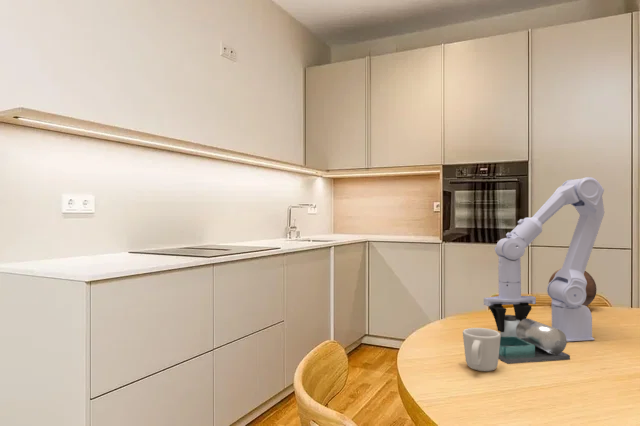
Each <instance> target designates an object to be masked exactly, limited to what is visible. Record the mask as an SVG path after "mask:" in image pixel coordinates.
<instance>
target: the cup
mask: <svg viewBox="0 0 640 426" xmlns="http://www.w3.org/2000/svg"><path fill="white" fill-rule="evenodd" d="M462 337H463V338H462V339H463V348H464V355H465V356H464V357H465V363H466V365H467V366H468V367H469V368H470V369H472V370H475V371H479V372H492V371H495V370H496V369H497V367H498V365H499V359H498V358H499V348H500V338H501V335H500V331H498V330H495V329H492V328H485V327H469V328H466V329H465V328H464V330H462Z"/></svg>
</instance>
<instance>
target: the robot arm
mask: <svg viewBox="0 0 640 426" xmlns="http://www.w3.org/2000/svg"><path fill="white" fill-rule="evenodd" d="M604 192H605V189H604V188H603V186H602V184H601V183H600V181H598V180H597V179H596V178H594V177H591V176H586V177H583V178H577V179H575V178H572V179H568V180H565V181H564V182H563V183H562V184H561V185H560V186H558V187H557V188H556V190H555V191H554V192H553V193H552V194H551V196H550V197H549V198H548V199H547V200H546V201H545V202H544V203H543V205H541V207H540V208H539V209H538V210H537V211H536V212H534V215H532V217H524V218H520V219H519V220H517V225H516V226H515V227H514V228H513V229H512V230H511V231H510V232H509V231H508V232H507V233H506V234H505V236H506V237H504V238H501V239H499V240H498V241H497V243H496V246H495V247H494V252H495V254H496V255H497V257H498V267H497V269H498V273H497V275H498V279H497V280H498V295H497V296H490V297H483V305H484V306H486V307H488V309H489V310H490V312H491V314H492V316H493V318H494V321H495V322H494V323H495V325H496V329H497V330H496V331H497V332H499V333H500V332H504V319H505V315H506V314H507V313H506V312H507V308H505V307H504V305H507V306H508V305H509V306H510V305H512V306H513V310H514V315H515V316H516V319H519V320H520V321H521V320H523V319H528V316H529V313H530V312H531V310H532V305H535V304H537V303H536V302H537V300H536V299H537V298H536V296H534V295H533V296H532V295H522V274H521V273H522V267H521V260H522V259H521V258H522V257H523V256H524V255H525V252H526V248H527V247H528V246H529V245H530V244H531V243H532V242H533V241H534V240H536V239H537V237H538V236H539V235H540V234H542V232H543V225H544V224H545V223H546V222H547V221H549V220H550V218H552V217H553V216H554V215H555V214H556V213H557V212H559V211H560V210H561V209H562V208H563V207H565V206H568V205H571V206H573V207H574V208H575V210H576V212H577V213H578V214H579V217H578V220H577V222H576V226H575V229H574V232H573V235H572V238H571V240H570V244H569V245H568V246H569V247H568V249H567V252H566V255H565V257H564V261H563V263H562V267H561V268H559V269H560V270H559V269H558V270H559V271H558V272H557V273H556V274H555V277H554V279H553V280H552V281H551V282H550V283H549V282H548V284H547V288H546V291H547V292H546V293H547V295H548V297H550V299H551V302H550V303H551V327H553V328H556V329H558V330H561V331H562V332H563V333H564V334H565V336H566V339H567V343H568V342H581V341H582V342H583V341H585V342H586V341H594V340H595V338H594V336H593V315H592V312H591V309H590V308H589V307H588V306H585V305H582V304H583V303H584V302H585V300H586V285H587V281H586V279H585V277H584V272H585V271H586V268H587V265H588V263H589V260H590V258H591V254H592V252H593V248H594V245H595V242H596V240H597V236H598V234H599V230H600V227H601V224H602V221H603V219H604V217H605V207H604V206H605V205H604V200H603V194H604ZM530 304H532V305H530Z"/></svg>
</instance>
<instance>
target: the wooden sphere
mask: <svg viewBox="0 0 640 426" xmlns="http://www.w3.org/2000/svg"><path fill="white" fill-rule="evenodd" d="M560 269H561V268H559V269H557V270H556V271H554V272H553V273H552V275H551V276H550V278H549V281H548V284H549V283H550V282H551V281H552V280H553V279H554V277H555V274H556V273H557V272H558V271H559V270H560ZM584 277H585V279H586V281H587V285H586V300H585V302H584V303H583V304H582V305H585V306H586V307H588V306H589V305H590V304H591V303H592V302H594V300H595V298H596V296H597V284H596V282H595V278H593V276H592V275H591V274H590V273H589V272H587V271H586V270H585V272H584Z"/></svg>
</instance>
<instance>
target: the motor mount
mask: <svg viewBox="0 0 640 426" xmlns="http://www.w3.org/2000/svg"><path fill="white" fill-rule="evenodd" d="M516 334H517V336H518V337H516V336H505V337H501V338H500V348H499V358H498V360H500V361H502V362H504V363H505V364H508V365H509V364H510V365H511V364H521V363H522V364H523V363H537V362H539V363H540V362H551V361H565V360H566V361H569V360H571V355H570V354H569V353H566V352H564V351H565V349H566V348H567V343H568V342H567V339H566V336H565V334H564V333H563V332H562V331H561V330H558V329H556V328H553V327H552V326H550V325H547V324H544V323H541V322H540V321H537V320H533V319H532V318H531V319H530V318H526V319H523V320H521V321H520V322H519V323H518V325H517V327H516Z"/></svg>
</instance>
